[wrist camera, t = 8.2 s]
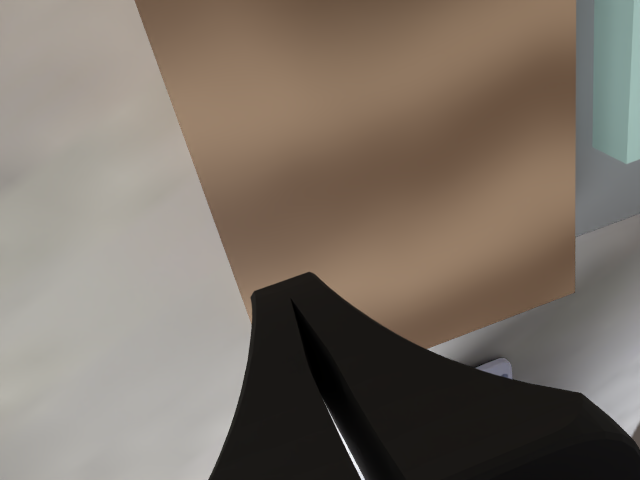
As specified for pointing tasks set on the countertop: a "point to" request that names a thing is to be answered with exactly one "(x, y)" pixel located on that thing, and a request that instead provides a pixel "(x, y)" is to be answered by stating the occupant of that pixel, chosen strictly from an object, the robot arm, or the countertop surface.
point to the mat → (591, 164)
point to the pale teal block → (617, 79)
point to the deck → (384, 148)
